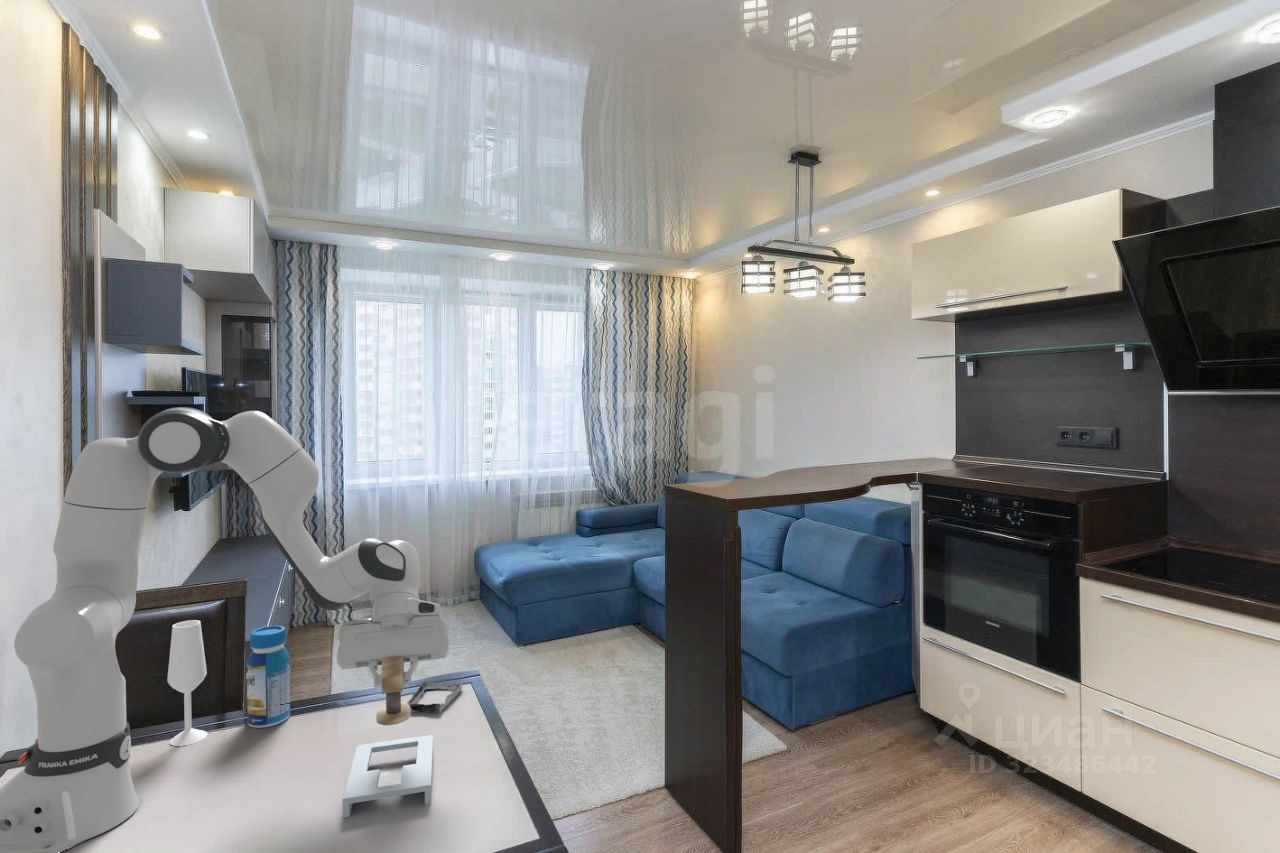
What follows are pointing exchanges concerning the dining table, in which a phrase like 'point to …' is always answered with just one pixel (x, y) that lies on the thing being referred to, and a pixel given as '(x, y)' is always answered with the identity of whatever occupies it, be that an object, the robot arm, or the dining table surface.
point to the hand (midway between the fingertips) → (392, 684)
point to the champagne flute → (187, 673)
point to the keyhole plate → (366, 782)
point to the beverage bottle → (268, 678)
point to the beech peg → (393, 692)
